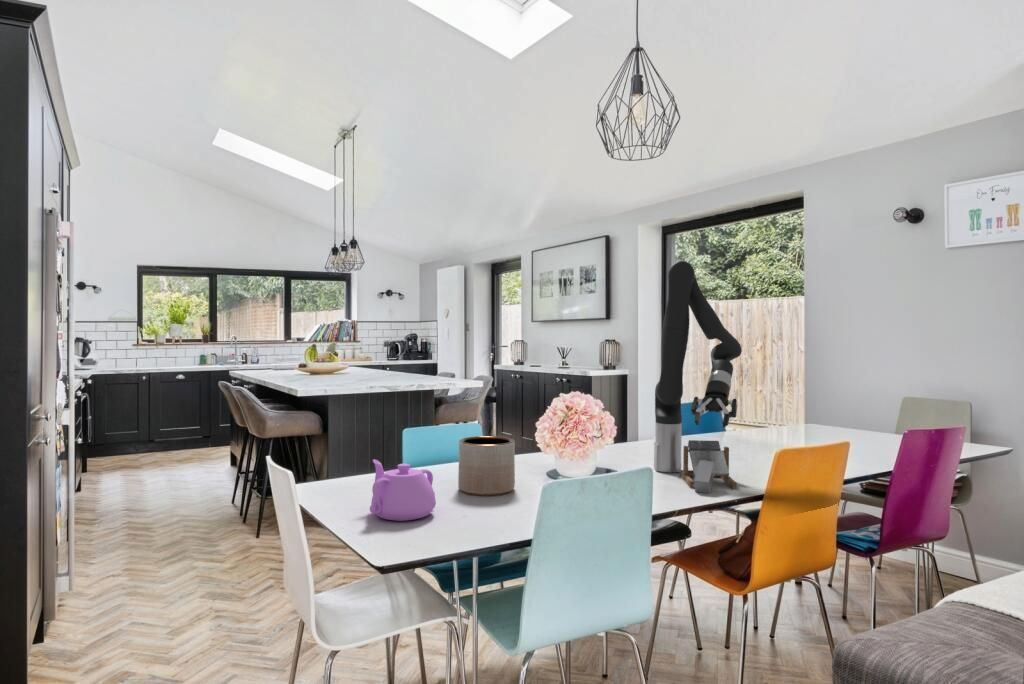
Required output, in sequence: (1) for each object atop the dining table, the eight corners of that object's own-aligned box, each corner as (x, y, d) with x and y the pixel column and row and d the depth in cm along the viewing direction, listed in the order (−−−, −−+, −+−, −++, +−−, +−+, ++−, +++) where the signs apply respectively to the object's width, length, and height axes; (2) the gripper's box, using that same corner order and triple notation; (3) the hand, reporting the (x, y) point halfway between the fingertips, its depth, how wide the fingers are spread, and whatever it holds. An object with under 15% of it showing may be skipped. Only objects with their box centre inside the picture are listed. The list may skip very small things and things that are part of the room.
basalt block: (700, 471, 215) (695, 491, 207) (699, 460, 213) (693, 480, 205) (714, 472, 213) (709, 493, 205) (714, 461, 211) (708, 482, 203)
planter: (512, 497, 199) (513, 445, 199) (454, 496, 200) (454, 444, 200) (516, 484, 217) (516, 436, 216) (462, 482, 218) (462, 435, 218)
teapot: (402, 499, 196) (402, 452, 196) (454, 512, 182) (455, 462, 182) (340, 515, 179) (340, 464, 179) (393, 530, 165) (393, 475, 165)
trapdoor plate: (686, 445, 229) (687, 439, 227) (718, 445, 228) (720, 439, 226) (693, 479, 216) (694, 472, 215) (727, 479, 215) (729, 473, 214)
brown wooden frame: (680, 475, 230) (680, 442, 230) (722, 476, 229) (723, 443, 229) (690, 487, 213) (690, 452, 212) (736, 489, 211) (736, 453, 211)
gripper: (695, 378, 225) (686, 415, 215) (739, 380, 218) (731, 418, 208) (699, 392, 230) (690, 430, 220) (741, 395, 223) (734, 433, 213)
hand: (710, 424), depth 214 cm, fingers open, 8 cm apart
